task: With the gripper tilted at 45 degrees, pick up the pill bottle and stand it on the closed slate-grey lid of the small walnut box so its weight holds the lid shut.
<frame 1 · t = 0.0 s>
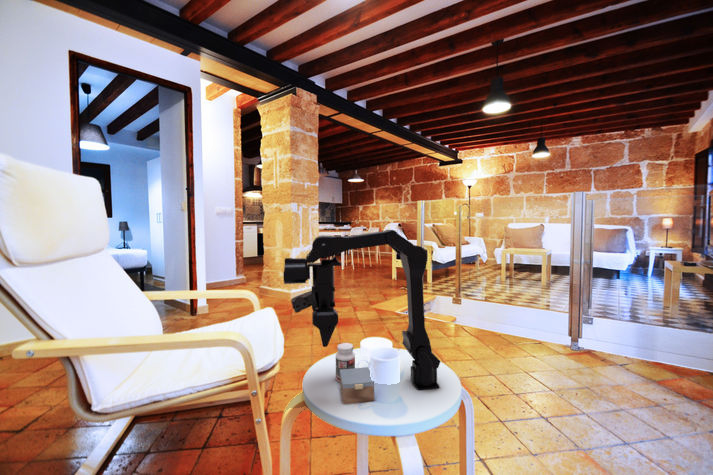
hand: (324, 339, 82), 15 cm above the table, tool pointing down, fingers open, 9 cm apart
walnut box: (356, 394, 81), on the table
box lid: (356, 378, 81), point 4 cm above the table, hinge at 0.0°, touching walnut box
pill bottle: (345, 379, 90), on the table
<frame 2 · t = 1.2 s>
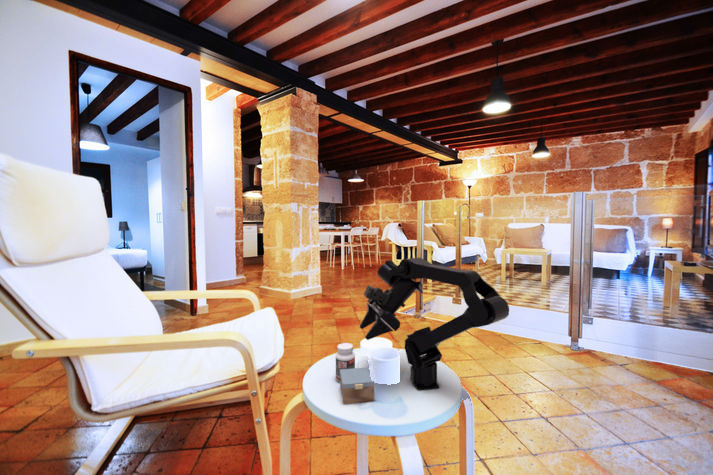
hand: (363, 333, 90), 13 cm above the table, tool tilted 45°, fingers open, 9 cm apart
nothing on the table moved.
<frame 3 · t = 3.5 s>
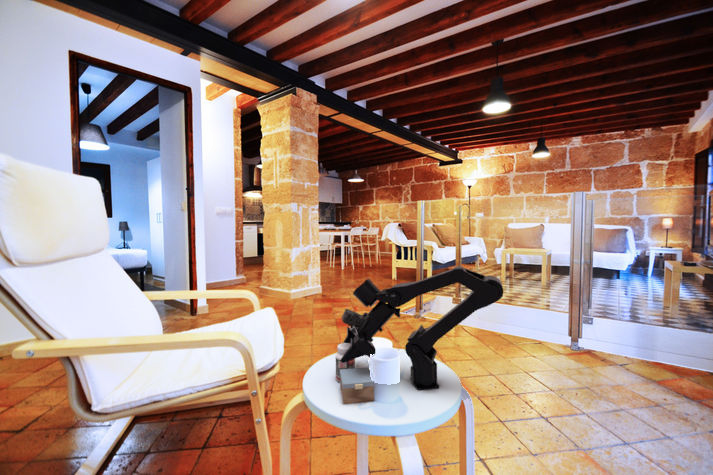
hand: (340, 357, 89), 7 cm above the table, tool tilted 45°, fingers closed on pill bottle, 6 cm apart
pill bottle: (345, 379, 90), on the table, touching gripper
everything else where it was.
when the fingers open (13 cm above the table, at t = 6.6 s): pill bottle stays where it is, resting on box lid.
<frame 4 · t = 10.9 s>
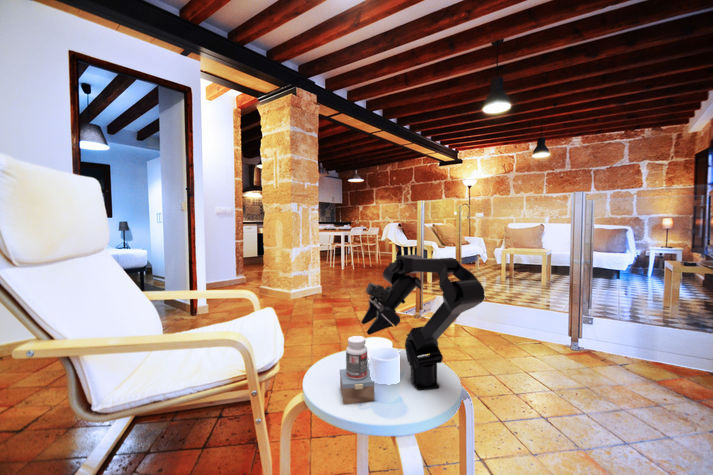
hand: (364, 328, 93), 14 cm above the table, tool tilted 45°, fingers open, 9 cm apart
box lid: (356, 378, 81), point 5 cm above the table, hinge at 0.0°, touching pill bottle, walnut box
pill bottle: (356, 375, 81), point 5 cm above the table, touching box lid
at the end: pill bottle 0.2 cm off-centre on the walnut box, point 5.0 cm above the walnut box's base; pill bottle tilted 0°; box lid at +0° (first picture: +0°) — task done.
